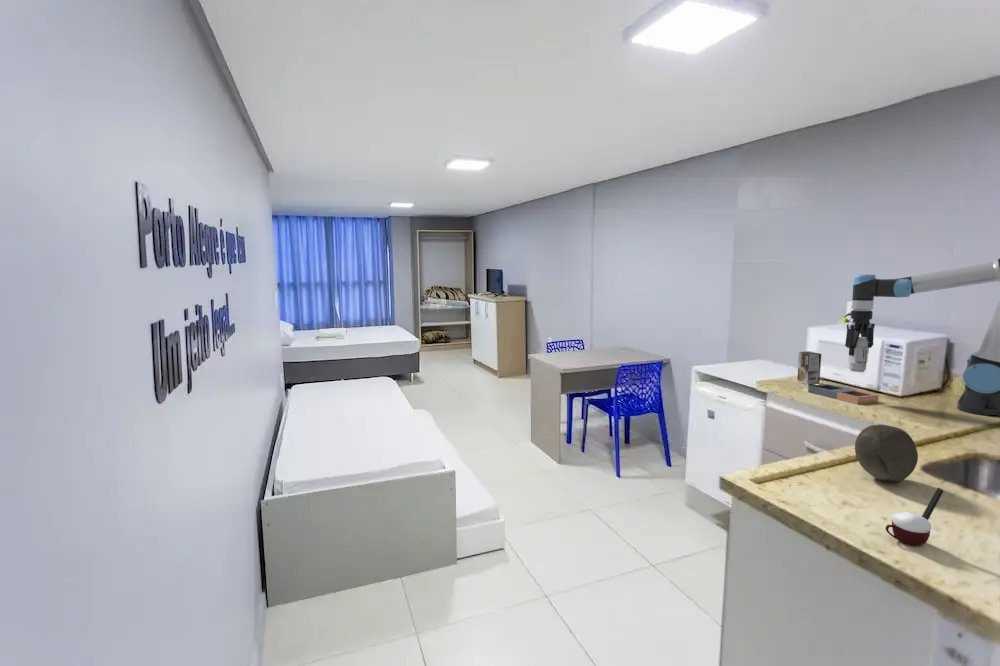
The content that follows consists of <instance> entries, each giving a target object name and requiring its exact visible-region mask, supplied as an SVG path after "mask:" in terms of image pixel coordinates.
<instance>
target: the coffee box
mask: <svg viewBox="0 0 1000 666" xmlns="http://www.w3.org/2000/svg"><path fill="white" fill-rule="evenodd" d="M797 360H798V361H797V362H798V365H797V381H800V382H803V383H805V384H804V385H806V384H808V385H807V386H810V385H809V384H819V385H820V381H821V380H820V379H821V366H822V365H821V364H822V353H819V352H816V351H798V359H797ZM797 381H796V382H797ZM800 382H799V383H800ZM803 383H802V384H803Z"/></svg>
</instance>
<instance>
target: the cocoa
mask: <svg viewBox="0 0 1000 666" xmlns="http://www.w3.org/2000/svg"><path fill="white" fill-rule="evenodd" d="M943 493H944V490H943V488H940V487H936V490H935V491H934V492H933V495H932V497H931V498H930V500H929V502H928V503H927V506H926V507H925V510H924V511H923V514H922V515H918V514H916V513H913V512H909V511H905V512H897V513H893V514H892V516H891V524H887V525H886V526H885V531H886V533H887V534H889V536H891V537H893V538H894V539H896V540H898V541H899V542H900V543H902V544H905V545H907V546H913V547H920V546H923V545H925V544H926V543H927V542H928V541H929V538H930V535H931V530H932V524H931V522H930V521H929V519H930V517H931V515H932V513H933V512H934V510H935V508H936V506H937V505H938V503H939V501H940V499H941V497H942V495H943ZM889 528H892V529H891V530H892V532H891V531H889ZM892 533H893V534H892Z"/></svg>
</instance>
